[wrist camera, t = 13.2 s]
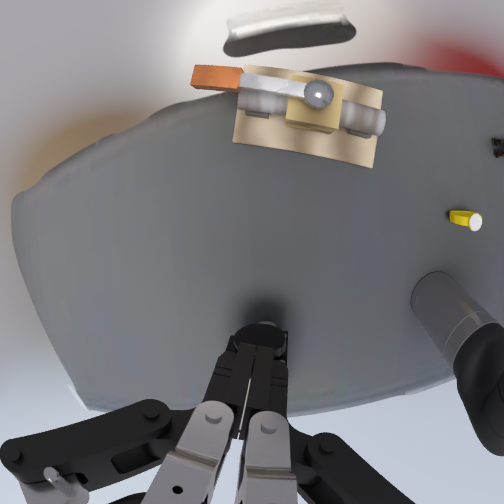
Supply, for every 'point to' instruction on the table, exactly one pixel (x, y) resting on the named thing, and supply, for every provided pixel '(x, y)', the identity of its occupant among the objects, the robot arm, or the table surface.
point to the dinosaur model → (496, 142)
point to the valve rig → (312, 119)
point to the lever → (261, 84)
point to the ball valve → (261, 342)
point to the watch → (466, 219)
